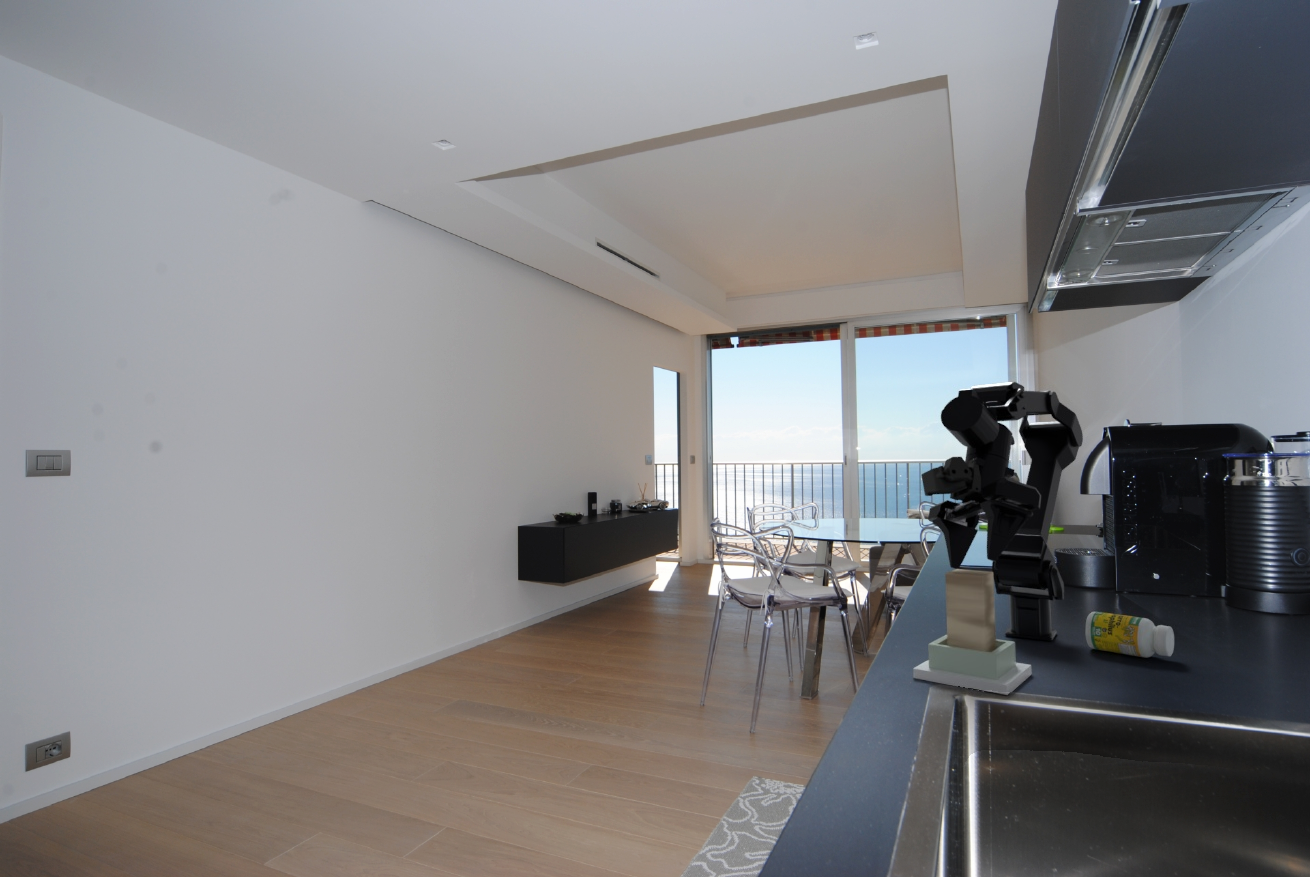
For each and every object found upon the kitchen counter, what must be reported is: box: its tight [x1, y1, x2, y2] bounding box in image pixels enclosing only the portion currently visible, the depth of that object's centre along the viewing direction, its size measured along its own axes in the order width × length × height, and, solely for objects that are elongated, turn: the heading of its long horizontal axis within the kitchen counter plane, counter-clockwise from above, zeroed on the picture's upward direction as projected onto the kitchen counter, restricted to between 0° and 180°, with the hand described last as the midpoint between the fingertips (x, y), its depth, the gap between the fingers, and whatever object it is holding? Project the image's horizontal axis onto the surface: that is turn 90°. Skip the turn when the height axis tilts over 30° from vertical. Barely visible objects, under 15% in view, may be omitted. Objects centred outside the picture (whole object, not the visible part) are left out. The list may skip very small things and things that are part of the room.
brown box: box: [944, 568, 997, 652], centre depth 88 cm, size 4×4×12 cm
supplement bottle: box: [1085, 611, 1175, 659], centre depth 97 cm, size 5×5×10 cm
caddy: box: [912, 634, 1033, 693], centre depth 88 cm, size 11×11×4 cm
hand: (972, 564), depth 95 cm, fingers open, 9 cm apart
